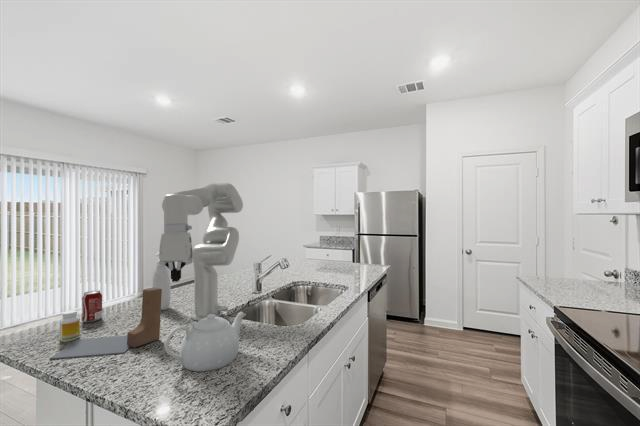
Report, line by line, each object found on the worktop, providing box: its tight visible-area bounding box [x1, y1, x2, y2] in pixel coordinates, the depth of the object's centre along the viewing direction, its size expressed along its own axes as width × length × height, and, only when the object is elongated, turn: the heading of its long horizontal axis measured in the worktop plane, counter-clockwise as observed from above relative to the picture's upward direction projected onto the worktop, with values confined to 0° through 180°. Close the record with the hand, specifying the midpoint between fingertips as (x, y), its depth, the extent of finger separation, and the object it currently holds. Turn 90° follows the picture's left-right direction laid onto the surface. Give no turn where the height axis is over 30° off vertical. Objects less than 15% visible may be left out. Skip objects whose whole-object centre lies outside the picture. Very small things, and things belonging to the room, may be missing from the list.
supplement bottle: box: [59, 309, 81, 343], centre depth 105 cm, size 5×5×10 cm
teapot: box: [164, 311, 247, 372], centre depth 90 cm, size 19×18×14 cm
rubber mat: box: [49, 335, 132, 361], centre depth 99 cm, size 21×14×1 cm, turn 100°
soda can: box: [81, 289, 103, 323], centre depth 124 cm, size 7×7×12 cm
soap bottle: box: [152, 251, 172, 311], centre depth 140 cm, size 14×8×27 cm, turn 48°
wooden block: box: [126, 287, 162, 348], centre depth 102 cm, size 9×4×18 cm, turn 152°
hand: (175, 280), depth 103 cm, fingers closed
